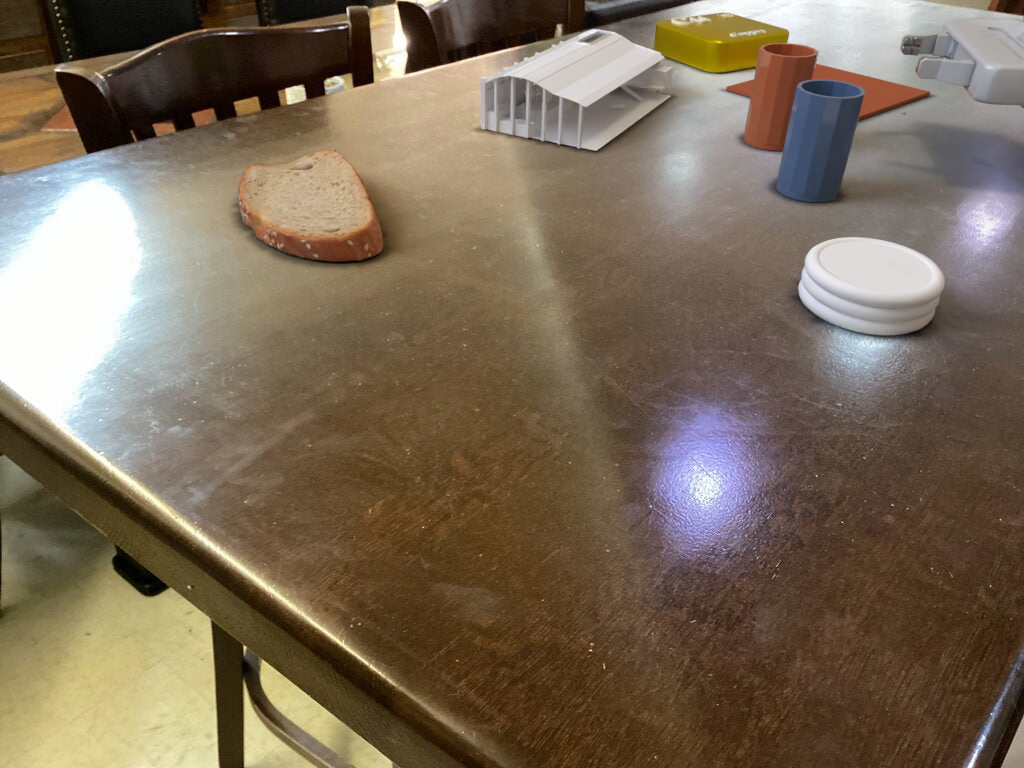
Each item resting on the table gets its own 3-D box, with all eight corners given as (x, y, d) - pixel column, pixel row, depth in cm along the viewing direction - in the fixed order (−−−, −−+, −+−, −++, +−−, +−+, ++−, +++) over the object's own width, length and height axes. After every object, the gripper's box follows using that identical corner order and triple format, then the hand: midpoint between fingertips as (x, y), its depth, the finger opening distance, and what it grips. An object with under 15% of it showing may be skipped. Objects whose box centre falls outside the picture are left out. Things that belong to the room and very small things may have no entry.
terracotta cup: (808, 143, 93) (829, 51, 87) (776, 155, 90) (795, 60, 84) (765, 129, 96) (782, 40, 91) (732, 140, 93) (748, 48, 87)
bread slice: (365, 269, 67) (361, 227, 65) (176, 239, 71) (166, 199, 69) (443, 188, 81) (442, 151, 78) (282, 167, 85) (276, 131, 83)
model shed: (593, 153, 89) (598, 88, 85) (478, 130, 95) (478, 68, 91) (672, 95, 107) (679, 39, 103) (571, 79, 113) (574, 25, 108)
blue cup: (850, 192, 81) (878, 90, 75) (815, 207, 78) (841, 102, 72) (799, 174, 85) (821, 75, 79) (763, 188, 82) (784, 86, 76)
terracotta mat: (929, 95, 108) (930, 91, 108) (845, 125, 98) (846, 121, 98) (812, 66, 120) (813, 62, 119) (725, 90, 109) (726, 86, 109)
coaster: (813, 262, 69) (823, 224, 67) (940, 293, 65) (955, 253, 63) (781, 315, 62) (791, 273, 60) (921, 352, 58) (937, 310, 56)
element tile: (713, 75, 115) (718, 39, 112) (647, 51, 125) (651, 17, 123) (789, 62, 121) (796, 27, 118) (721, 40, 132) (726, 8, 129)
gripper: (1075, 127, 76) (918, 116, 78) (1014, 70, 92) (886, 62, 95) (1105, 57, 72) (939, 47, 75) (1036, 10, 89) (902, 3, 91)
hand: (909, 55), depth 85 cm, fingers open, 8 cm apart
